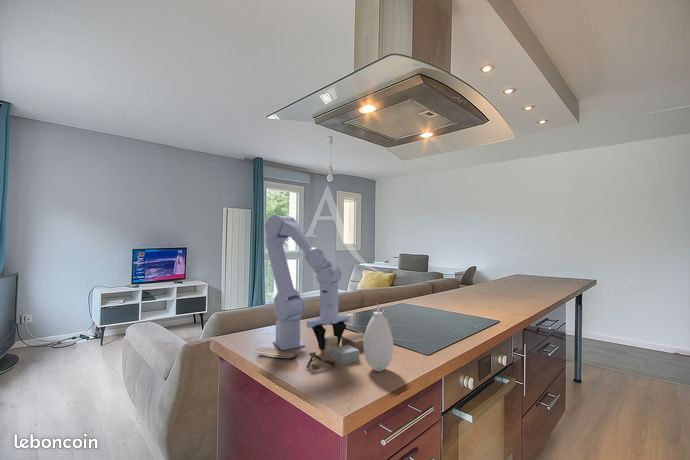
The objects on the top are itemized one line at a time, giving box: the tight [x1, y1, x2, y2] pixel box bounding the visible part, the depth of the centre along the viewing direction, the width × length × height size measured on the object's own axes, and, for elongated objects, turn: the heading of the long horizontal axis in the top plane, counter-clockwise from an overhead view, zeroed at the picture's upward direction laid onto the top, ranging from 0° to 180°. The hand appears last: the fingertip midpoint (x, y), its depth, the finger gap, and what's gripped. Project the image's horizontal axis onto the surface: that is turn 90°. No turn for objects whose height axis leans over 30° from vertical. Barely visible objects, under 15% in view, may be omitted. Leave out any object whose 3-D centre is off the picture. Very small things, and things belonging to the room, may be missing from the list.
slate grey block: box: [330, 345, 360, 366], centre depth 92 cm, size 6×6×3 cm
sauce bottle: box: [363, 303, 394, 372], centre depth 85 cm, size 8×8×18 cm
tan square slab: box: [340, 332, 365, 352], centre depth 104 cm, size 8×8×3 cm
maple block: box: [319, 333, 338, 356], centre depth 99 cm, size 4×4×5 cm
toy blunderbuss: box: [306, 351, 338, 370], centre depth 86 cm, size 2×8×4 cm, turn 98°
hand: (329, 347), depth 99 cm, fingers open, 5 cm apart
